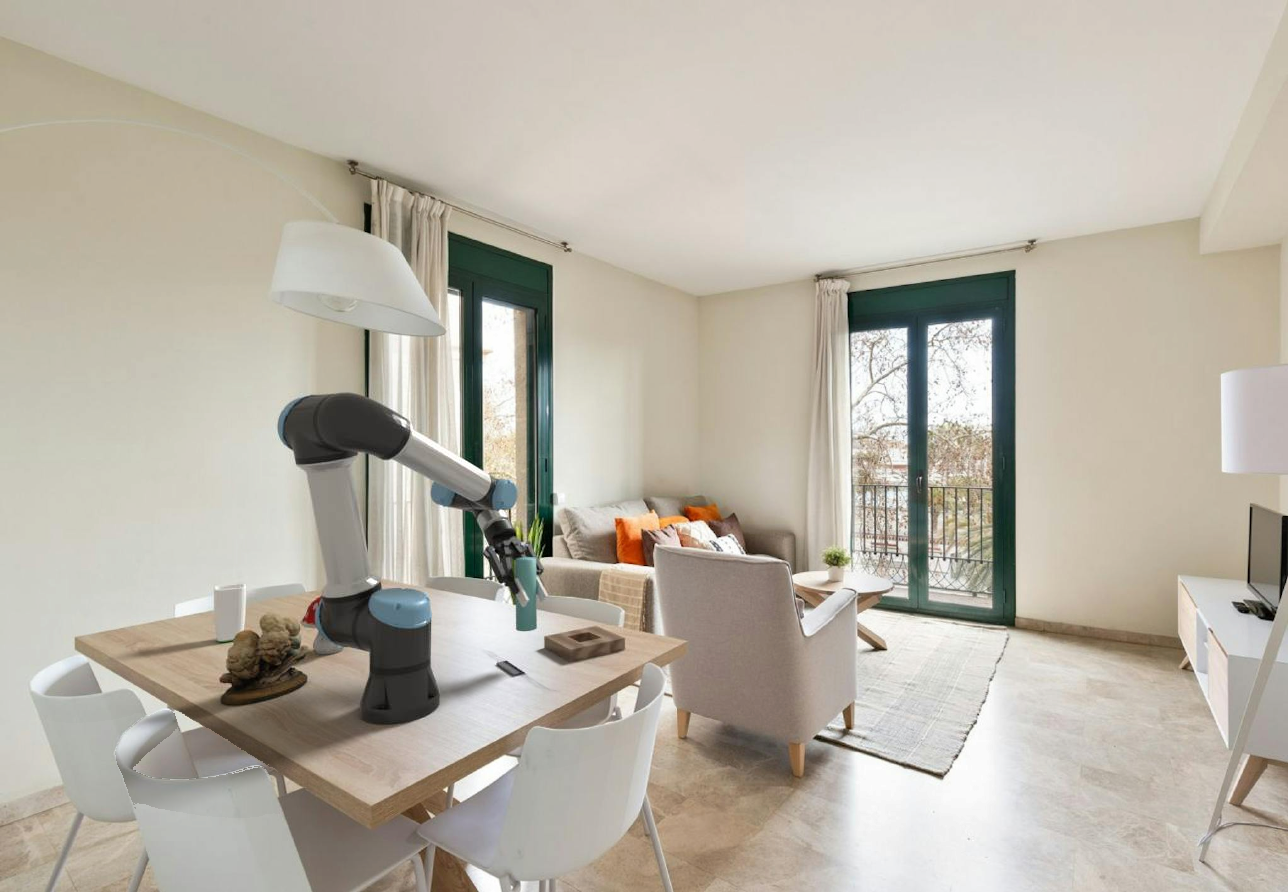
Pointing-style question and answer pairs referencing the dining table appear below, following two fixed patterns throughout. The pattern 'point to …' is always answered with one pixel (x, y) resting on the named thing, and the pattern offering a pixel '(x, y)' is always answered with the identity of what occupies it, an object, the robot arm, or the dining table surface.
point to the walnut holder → (584, 643)
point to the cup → (229, 610)
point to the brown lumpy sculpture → (264, 662)
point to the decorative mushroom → (319, 643)
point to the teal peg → (527, 578)
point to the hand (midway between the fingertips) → (535, 601)
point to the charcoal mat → (510, 668)
